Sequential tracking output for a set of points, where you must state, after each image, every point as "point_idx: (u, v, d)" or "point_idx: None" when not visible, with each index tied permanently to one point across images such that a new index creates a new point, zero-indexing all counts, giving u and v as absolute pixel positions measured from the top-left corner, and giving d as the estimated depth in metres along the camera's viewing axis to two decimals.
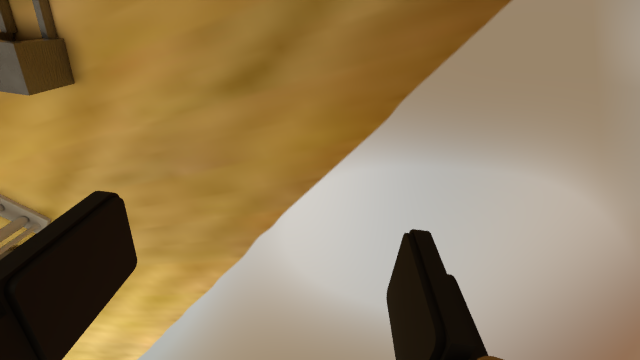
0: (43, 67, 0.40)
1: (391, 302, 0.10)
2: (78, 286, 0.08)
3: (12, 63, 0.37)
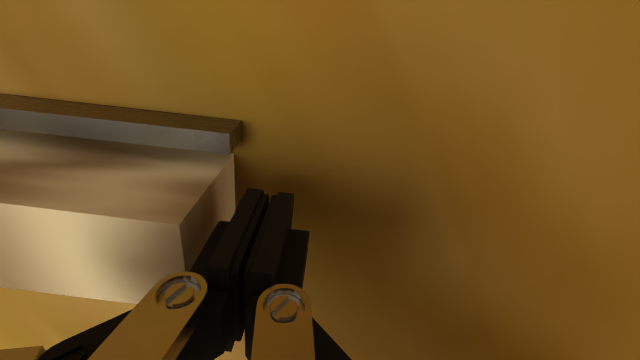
0: None
1: None
2: None
3: None
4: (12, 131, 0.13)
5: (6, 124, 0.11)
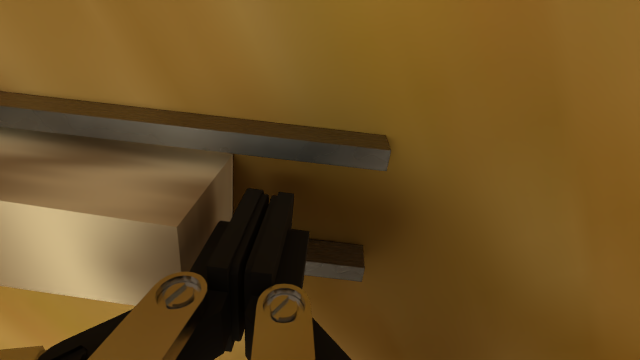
0: None
1: None
2: None
3: None
4: None
5: (160, 140, 0.11)
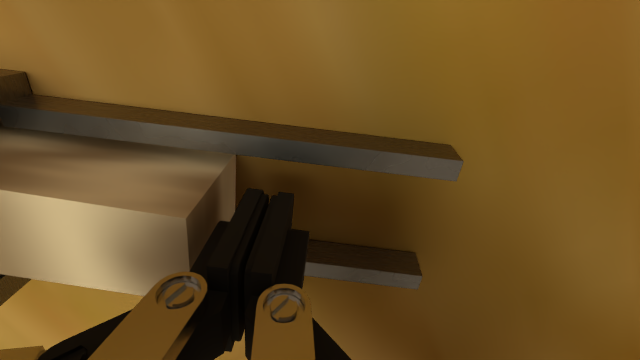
0: None
1: None
2: None
3: None
4: None
5: (232, 149, 0.11)
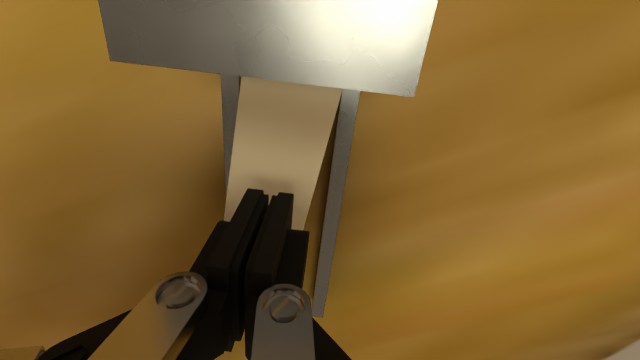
0: None
1: None
2: None
3: None
4: None
5: (328, 218, 0.17)
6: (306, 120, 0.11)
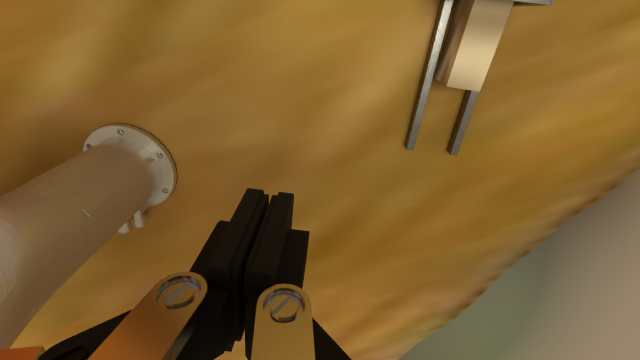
0: None
1: None
2: None
3: None
4: None
5: None
6: (495, 23, 0.29)
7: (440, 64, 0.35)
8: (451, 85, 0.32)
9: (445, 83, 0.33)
